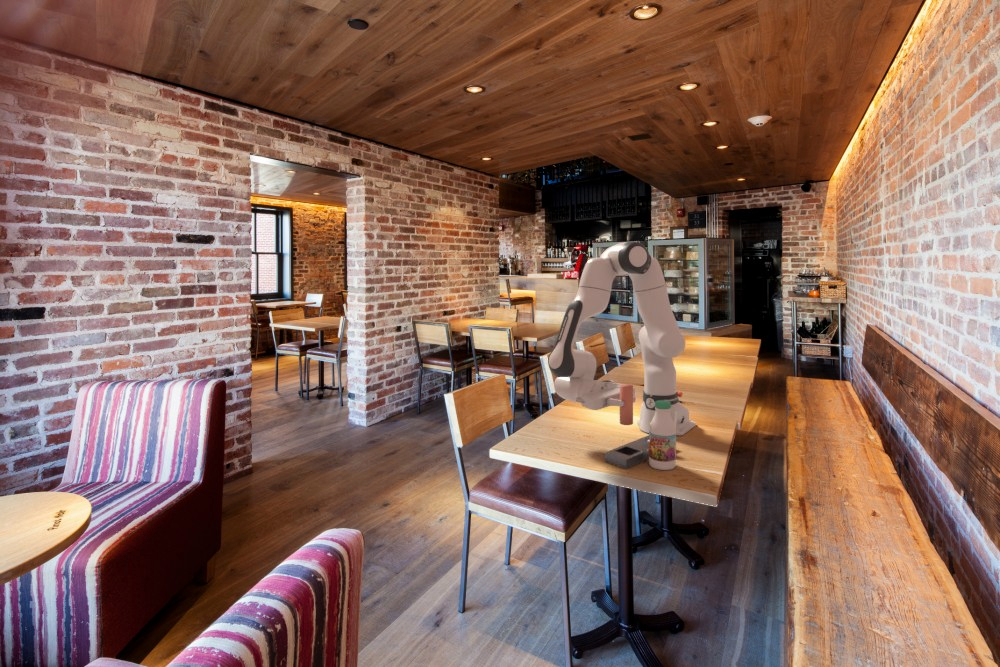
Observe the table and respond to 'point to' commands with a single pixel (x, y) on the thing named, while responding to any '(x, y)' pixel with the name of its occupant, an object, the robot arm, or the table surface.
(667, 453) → the milk bottle
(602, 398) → the robot arm
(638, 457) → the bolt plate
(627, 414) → the red peg
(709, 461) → the table surface
